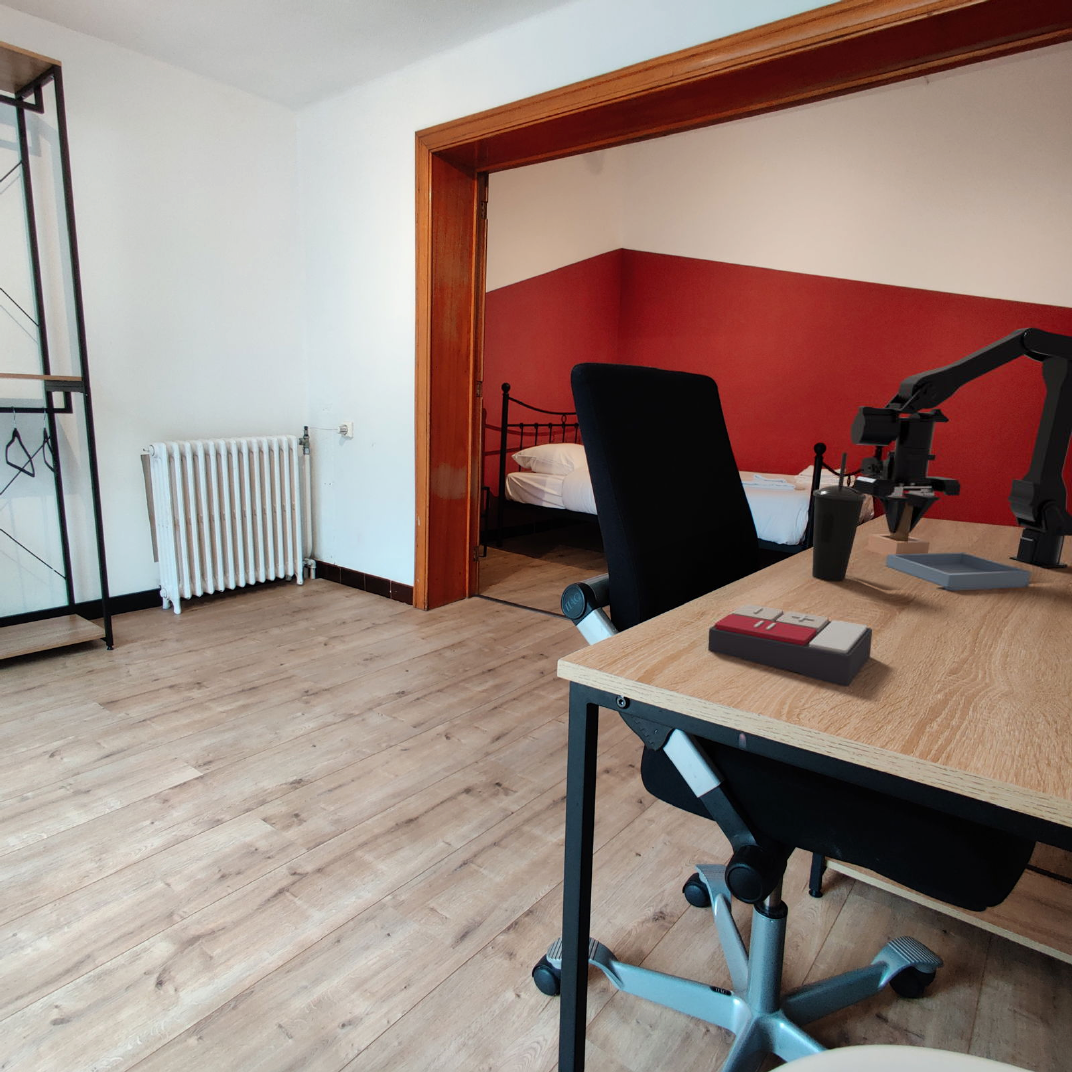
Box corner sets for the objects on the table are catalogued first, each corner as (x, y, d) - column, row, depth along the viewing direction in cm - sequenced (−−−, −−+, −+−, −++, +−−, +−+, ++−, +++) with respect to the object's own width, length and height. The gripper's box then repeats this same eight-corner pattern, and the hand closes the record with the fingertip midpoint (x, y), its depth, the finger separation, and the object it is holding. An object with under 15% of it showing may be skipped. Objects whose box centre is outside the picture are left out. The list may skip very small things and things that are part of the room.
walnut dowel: (897, 551, 131) (904, 504, 129) (909, 555, 128) (917, 507, 126) (883, 552, 130) (890, 504, 128) (895, 556, 127) (903, 507, 125)
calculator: (742, 600, 87) (873, 621, 79) (741, 633, 88) (870, 658, 79) (707, 622, 79) (850, 648, 70) (706, 658, 80) (847, 689, 71)
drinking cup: (862, 584, 109) (881, 456, 105) (813, 582, 109) (829, 454, 105) (842, 571, 117) (859, 451, 112) (796, 570, 117) (811, 449, 112)
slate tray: (960, 565, 124) (962, 552, 124) (1028, 586, 112) (1031, 571, 111) (885, 568, 120) (887, 554, 119) (946, 590, 108) (949, 575, 107)
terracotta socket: (897, 551, 134) (900, 533, 133) (926, 560, 127) (929, 542, 126) (866, 552, 132) (869, 534, 131) (894, 561, 125) (897, 542, 124)
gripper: (920, 443, 135) (908, 523, 138) (838, 442, 130) (827, 524, 133) (969, 449, 125) (954, 535, 128) (881, 448, 120) (868, 537, 123)
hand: (899, 532), depth 128 cm, fingers closed on walnut dowel, 3 cm apart
